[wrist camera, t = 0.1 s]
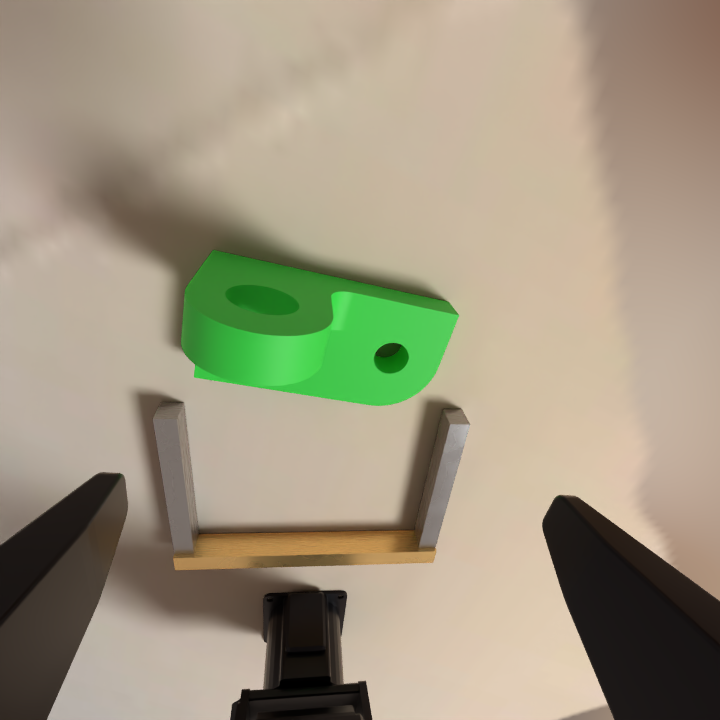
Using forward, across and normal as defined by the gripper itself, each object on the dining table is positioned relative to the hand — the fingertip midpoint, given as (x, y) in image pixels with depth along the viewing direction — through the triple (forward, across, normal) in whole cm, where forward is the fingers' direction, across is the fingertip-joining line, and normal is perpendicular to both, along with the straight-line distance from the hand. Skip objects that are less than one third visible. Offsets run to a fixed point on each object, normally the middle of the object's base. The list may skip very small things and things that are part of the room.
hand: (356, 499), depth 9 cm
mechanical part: (+15, 0, +3) cm, 15 cm away
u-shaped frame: (+14, -1, +14) cm, 20 cm away
